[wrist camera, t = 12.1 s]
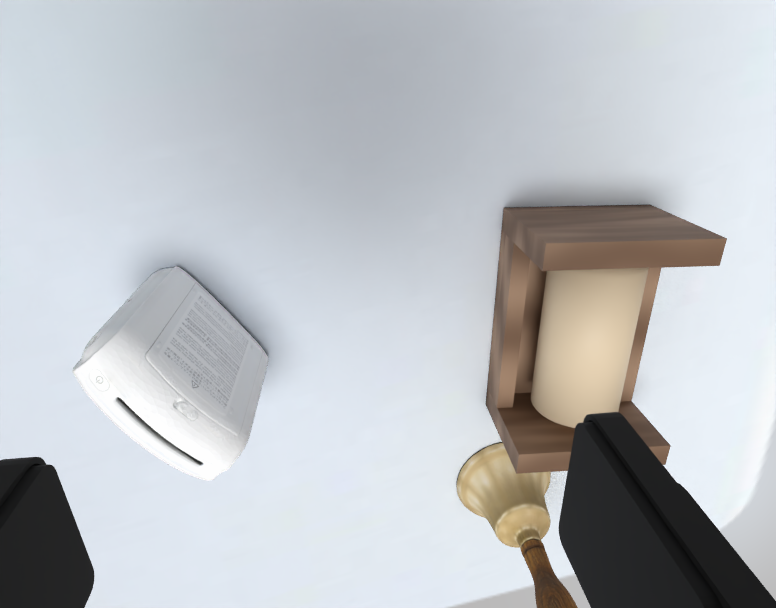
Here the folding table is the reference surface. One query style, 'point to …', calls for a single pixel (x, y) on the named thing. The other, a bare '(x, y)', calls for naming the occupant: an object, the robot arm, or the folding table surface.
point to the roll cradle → (525, 299)
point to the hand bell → (514, 514)
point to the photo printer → (176, 374)
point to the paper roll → (585, 341)
